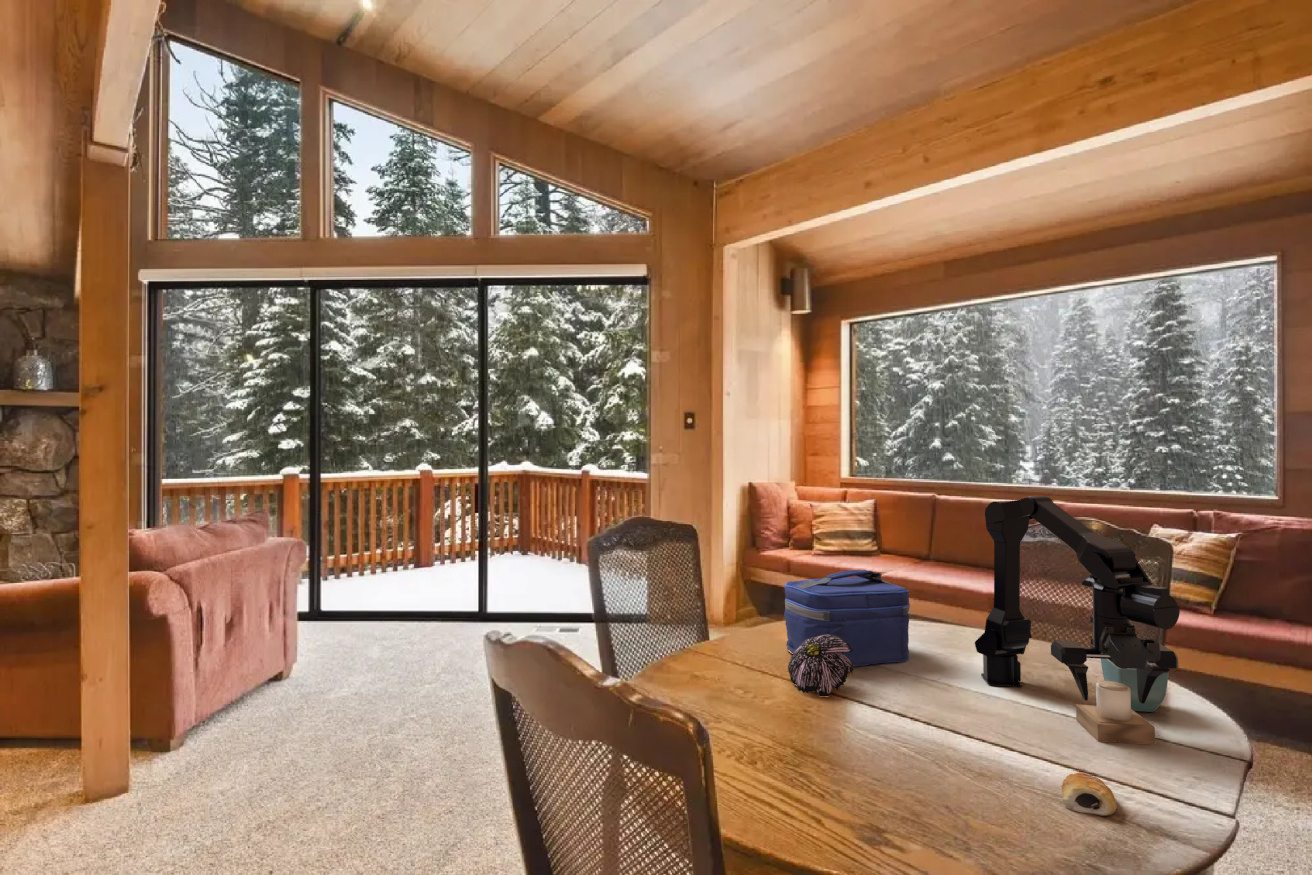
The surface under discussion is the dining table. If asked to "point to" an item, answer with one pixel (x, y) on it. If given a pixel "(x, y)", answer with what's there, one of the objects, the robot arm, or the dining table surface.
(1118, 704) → the jar
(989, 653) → the robot arm
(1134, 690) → the flower pot
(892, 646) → the lunch bag
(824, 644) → the decorative flower
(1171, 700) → the dining table surface
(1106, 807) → the pastry
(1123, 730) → the stand
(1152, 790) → the dining table surface
